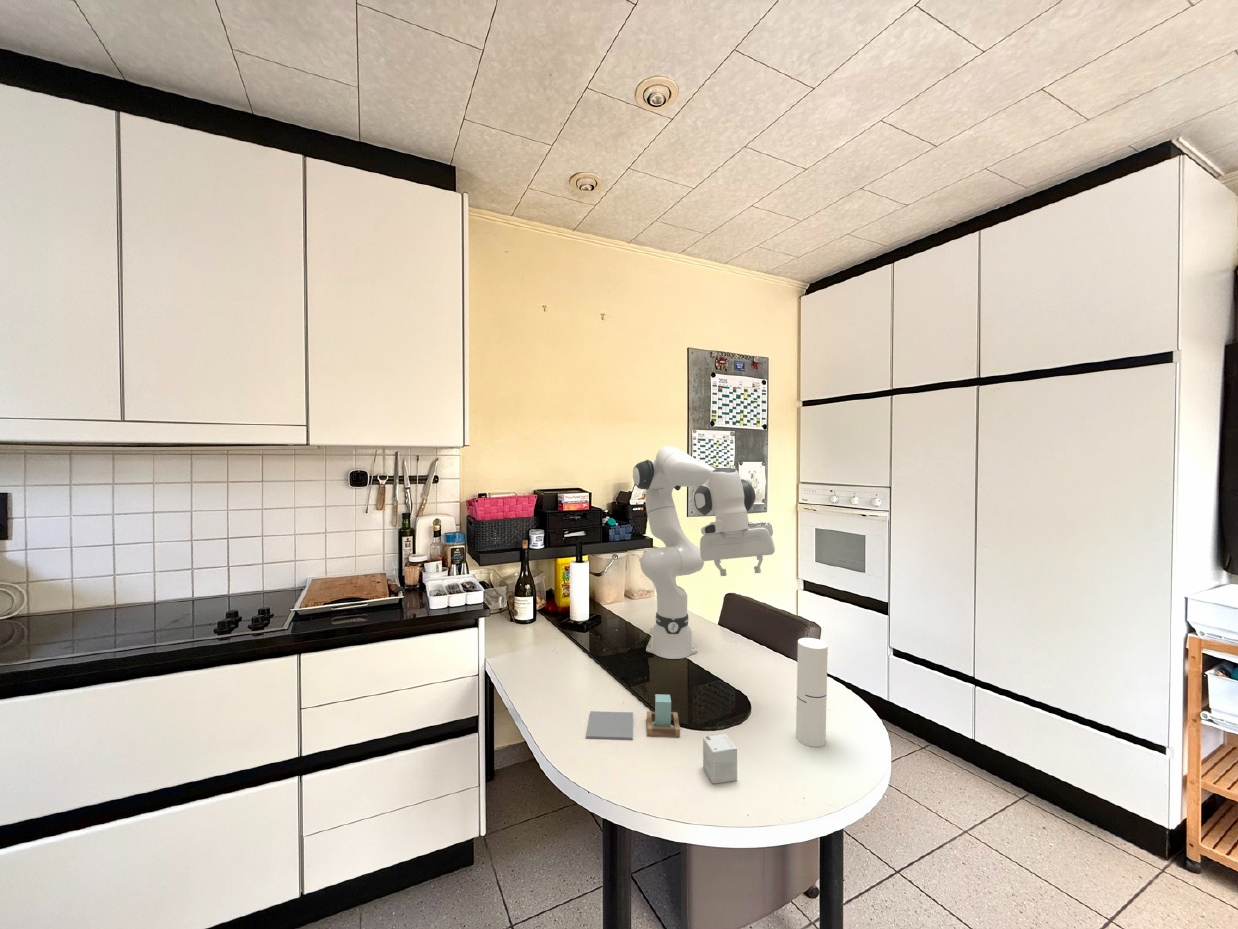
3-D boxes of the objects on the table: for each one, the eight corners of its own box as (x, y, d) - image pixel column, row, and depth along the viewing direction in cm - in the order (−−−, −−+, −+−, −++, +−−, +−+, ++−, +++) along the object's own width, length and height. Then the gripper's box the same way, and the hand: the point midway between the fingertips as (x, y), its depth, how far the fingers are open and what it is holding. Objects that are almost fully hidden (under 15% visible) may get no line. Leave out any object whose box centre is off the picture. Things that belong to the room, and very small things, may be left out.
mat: (590, 713, 137) (590, 711, 137) (633, 714, 136) (633, 712, 136) (586, 738, 125) (586, 736, 125) (632, 740, 124) (632, 737, 124)
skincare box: (737, 781, 109) (738, 748, 109) (712, 784, 108) (712, 752, 108) (726, 764, 115) (726, 733, 115) (702, 767, 114) (702, 736, 114)
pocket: (646, 718, 134) (646, 711, 134) (677, 719, 134) (677, 712, 134) (647, 736, 126) (647, 728, 126) (679, 737, 126) (680, 729, 125)
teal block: (655, 723, 132) (655, 694, 132) (669, 723, 132) (670, 694, 132) (655, 731, 128) (655, 702, 128) (670, 732, 128) (671, 702, 128)
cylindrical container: (822, 750, 121) (825, 651, 120) (793, 741, 124) (795, 644, 124) (827, 736, 127) (829, 641, 126) (799, 727, 130) (801, 635, 130)
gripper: (771, 519, 136) (780, 569, 134) (700, 528, 143) (707, 575, 141) (769, 520, 130) (778, 572, 128) (695, 529, 137) (702, 579, 135)
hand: (740, 574), depth 135 cm, fingers open, 8 cm apart
